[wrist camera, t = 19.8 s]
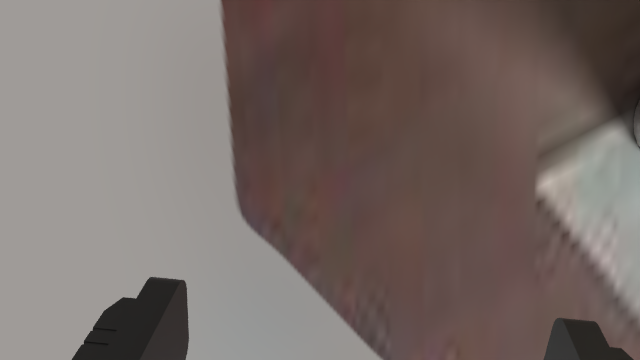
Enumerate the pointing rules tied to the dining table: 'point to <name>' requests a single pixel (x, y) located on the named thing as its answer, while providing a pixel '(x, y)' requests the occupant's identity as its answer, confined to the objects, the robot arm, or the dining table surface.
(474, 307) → the dining table surface
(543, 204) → the dining table surface
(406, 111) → the dining table surface
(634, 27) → the dining table surface
